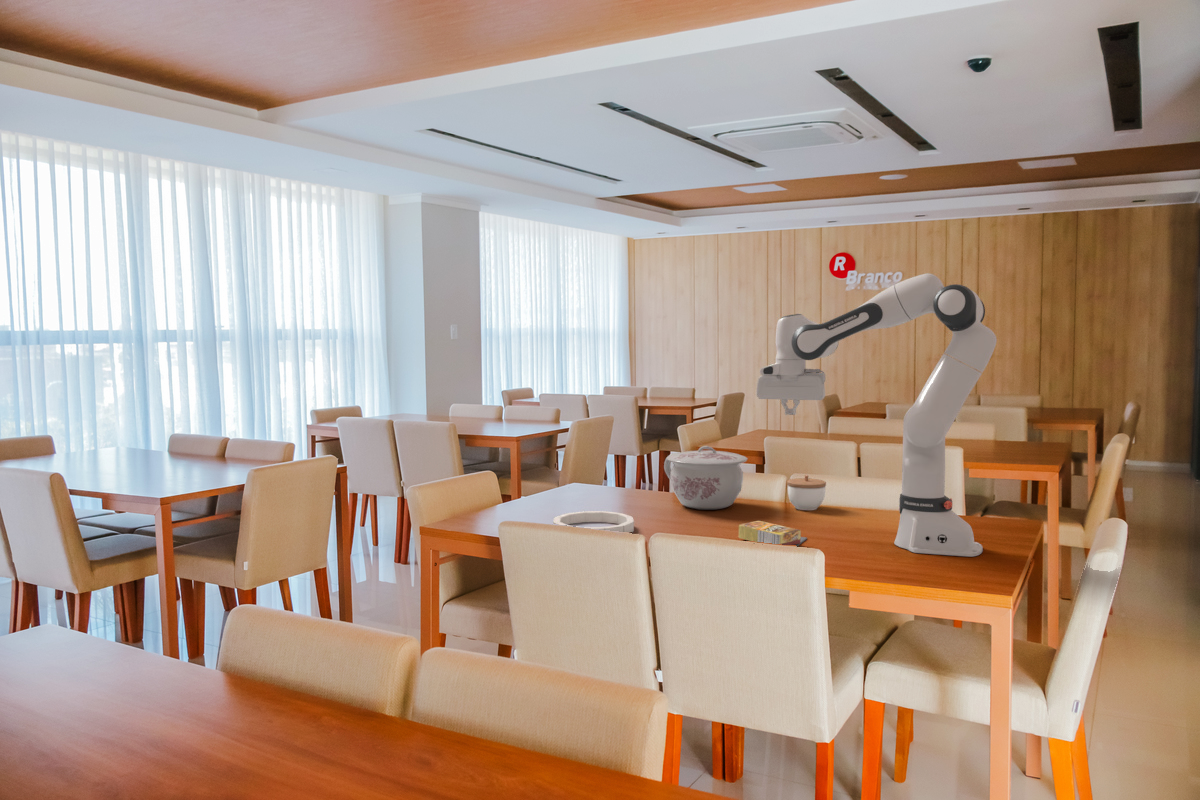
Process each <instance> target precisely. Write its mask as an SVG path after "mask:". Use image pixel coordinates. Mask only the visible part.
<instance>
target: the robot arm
mask: <svg viewBox="0 0 1200 800" xmlns="http://www.w3.org/2000/svg"><path fill="white" fill-rule="evenodd" d="M985 313H986V308H985V304H984V303H983V300H982V299H981V298H980V297H979V295H978V294H977V293H976V292H975V291H974V290H972V289H971V288H969V287H967V286H965V285H964V284H959V283H958V284H955V283H954V284H953V283H952V284H949V285H946V286H944V283H943V281H942V280H941V279H940V278H939V277H938V276H936V275H935V274H934V273H927V272H926V273H924V274H919V275H915V276H913V277H909V278H906V279H904V280H901V281H899V282H898V283H895V284H893V285H891V286H889V287H888V288H885V289H884V290H882V291H880V292H879V293H877V294H876V295H875V296H873V297H871V298H870V299H868V300H867V301H865V302H864V303H863V304H861V305H859V306H857V307H856V308H854V309H852V310H850V311H848V312H845V313H843V314H842V315H838V316H837V317H835V318H833V319H829V320H828V321H826V322H823V323H818V322H815V321H813V320H811V319H809V318H807V317H806V316H805V315H803V314H801V313H795V314H789V315H785V316H782V317H780V318H779V319H778V321H777V323H776V327H775V328H776V330H775V347H776V355H775V363H772V364H769V365H766V366H763V367H761V368H760V369H759V373H760V376H758V379H757V383H756V397H757V398H758V399H759V400H780V401H781V402H780V403H781V405H782V407H783V409H784V415H785V416H786V415H787V416H789V415H792V416H796V414H797V408H798V406H799V405H800V402H801V401H822V400H824V398H825V397H826V389H825V382H826V373H825V372H824V371H823V370H821V368H807V367H806V366H807V365H806V364H807V363H806V361H812V360H816V359H821V358H826V357H830V356H831V355H833V354H834V353H835V351H837V349H838V346H839V342H840V341H841V340H844V339H847V338H849V337H852V336H853V335H856V334H858V333H860V332H865V331H869V330H878V329H879V330H880V329H888V328H894V327H896V326H900V325H901V326H902V325H903V324H906V323H909V322H911V321H913V320H915V319H917V318H920V317H921V316H924V315H927V314H935V316H936V317H937V318H938V320H939V321H940V322H941V323H942V324H943V325H944V326H945V327H946V328H947V329H948V330H949V331H951V333H952V337H951V340H950V342H949V344H948V346H947V347H946V348H945V350H944V352H943V354H941V357H940V359H939V360H938V361H937V363H936V365H935V367H934V369H933V370H932V372H931V374H930V375H929V377H928V378H927V381H925V384H924V385H923V388H921V389H922V390H921V391H920V392H919V395H918V396H917V398H916V400H915V401H914V403H913V405H912V406H911V407H909V409H908V410H907V411H906V413H905V414H904V416H903V420H902V421H903V423H902V425H903V426H902V460H901V461H902V464H901V465H902V466H901V467H902V470H901V473H902V474H901V493H900V494H899V501H898V503H899V504H898V509H899V510H898V511H899V514H900V516H899V522H898V529H897V533H896V536H895V538H894V539H895V540H894V542H893V543H894V545H895V546H896V547H899V548H902V549H905V550H908V551H909V552H911V553H915V554H927V555H928V554H929V555H942V556H956V557H972V558H973V557H977V556H979V555H981V554H982V553H983V551H984V550H983V548H984V547H983V544H980V542H977V541H975V538H974V537H975V536H974V532H973V529H972V526H971V525H970V524H969V523H968V522H967V521H966V520H964V519H963V518H962V517H960V516H959V514H957V513H956V512H954V511H953V498H952V497H948V496H946V495H945V493H946V492H945V489H946V487H945V482H946V436H947V434H948V432H949V431H950V429H951V428H952V426H953V424H954V422H955V420H956V419H957V418H958V415H959V413H960V411H961V410H962V407H963V405H964V404H965V402H966V400H967V399H968V397H969V395H971V394H970V393H971V392H972V391H973V389H974V388H975V386H976V385H977V382H978V380H979V379H980V378H981V376H982V374H983V372H984V371H985V369H986V368H987V365H989V363H990V359H991V357H992V356H993V353H994V351H995V348H996V346H997V342H998V340H997V339H998V338H997V335H996V334H995V332H994V331H993V330H992V328H991V329H990V327H987V326H986V325H984V324H983V323H982V322H983V320H984V319H985V315H986V314H985ZM789 400H792V401H793V404H794V405H793V407H792V408H791V407H789V406H788V404H787V403H788V402H789Z"/></svg>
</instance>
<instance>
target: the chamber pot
mask: <svg viewBox="0 0 1200 800" xmlns="http://www.w3.org/2000/svg"><path fill="white" fill-rule="evenodd" d="M747 461H748V457H746V456H745V455H741V454H739V453H736V452H735V453H734V452H729V451H724V450H723V451H722V450H716V449H714V448H713V447H712V446H709V445H703V446H701V447H699V448H698V450H687V451H681V452H675V453H670V454H669V455H667V457H666V458H665V460H664V462H663V464H664V465H663V469H664V473H665V475H666V476H667V478H668V479H669V480H670V484H671V489H672V491H673V492H674V494H675V496H676V498H677V499H678V502H680V504H681V505H683V506H684V507H687V508H690V509H692V510H700V511H701V510H702V511H716V510H722V509H726V508H728V507H730V506H732V505H733V504H734V502H735V501H736V499H737V498H738V496H739V495H740V493H741V491H742V487H743V481H744V472H743V470H742V468H741V464H743V463H746V462H747ZM671 463H672V464H673V466H672V468H671Z"/></svg>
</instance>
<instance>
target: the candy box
mask: <svg viewBox="0 0 1200 800" xmlns="http://www.w3.org/2000/svg"><path fill="white" fill-rule="evenodd" d="M801 531H802V530H801V529H797V528H794V527H788V526H785V525H784V526H783V525H780V524H776V523H771V522H768V521H767V522H766V521H761V520H755V521H750V522H746V523H741V524H738V538H739V539H741V540H746V541H747V540H749V541H755V542H764V543H772V544H782V545H796V544H800V540H801V537H802V536H801V534H802V532H801ZM800 545H801V544H800Z"/></svg>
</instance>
